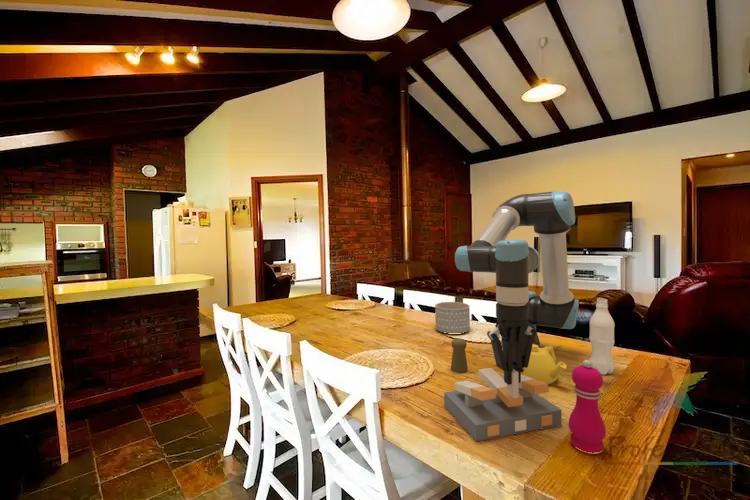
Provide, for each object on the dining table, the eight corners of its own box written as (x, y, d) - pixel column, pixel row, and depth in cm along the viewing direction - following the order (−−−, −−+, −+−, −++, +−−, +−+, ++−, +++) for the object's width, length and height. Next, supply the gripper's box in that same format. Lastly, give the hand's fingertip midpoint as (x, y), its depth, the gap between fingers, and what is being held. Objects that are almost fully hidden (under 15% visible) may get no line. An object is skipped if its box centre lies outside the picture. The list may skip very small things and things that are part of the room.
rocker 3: (514, 379, 100) (513, 371, 100) (548, 391, 86) (547, 383, 86) (502, 380, 99) (501, 373, 99) (535, 394, 85) (534, 385, 85)
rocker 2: (490, 373, 98) (491, 367, 98) (522, 404, 85) (523, 397, 84) (478, 375, 97) (478, 369, 97) (508, 407, 84) (509, 400, 83)
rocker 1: (468, 388, 96) (467, 380, 96) (496, 398, 83) (495, 389, 83) (455, 390, 95) (454, 382, 95) (481, 400, 82) (480, 391, 82)
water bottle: (611, 369, 118) (612, 298, 117) (616, 377, 112) (617, 302, 110) (587, 366, 121) (588, 296, 120) (590, 374, 115) (591, 300, 113)
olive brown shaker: (468, 373, 118) (468, 342, 117) (450, 372, 119) (450, 341, 118) (467, 366, 124) (467, 337, 123) (450, 365, 125) (450, 336, 124)
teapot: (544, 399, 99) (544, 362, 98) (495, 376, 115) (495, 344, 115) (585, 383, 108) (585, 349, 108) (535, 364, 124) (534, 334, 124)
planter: (435, 335, 161) (435, 309, 161) (435, 325, 178) (435, 301, 177) (471, 336, 159) (471, 309, 158) (467, 326, 175) (467, 301, 174)
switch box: (517, 394, 102) (517, 373, 102) (562, 425, 86) (562, 400, 85) (444, 406, 97) (444, 383, 96) (476, 442, 80) (476, 415, 79)
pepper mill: (561, 437, 81) (561, 355, 80) (590, 435, 81) (590, 353, 80) (582, 458, 73) (583, 367, 72) (613, 455, 74) (615, 365, 73)
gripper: (524, 298, 89) (524, 385, 90) (480, 301, 86) (481, 392, 87) (545, 303, 82) (545, 399, 83) (497, 307, 79) (498, 406, 80)
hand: (512, 395), depth 85 cm, fingers closed
